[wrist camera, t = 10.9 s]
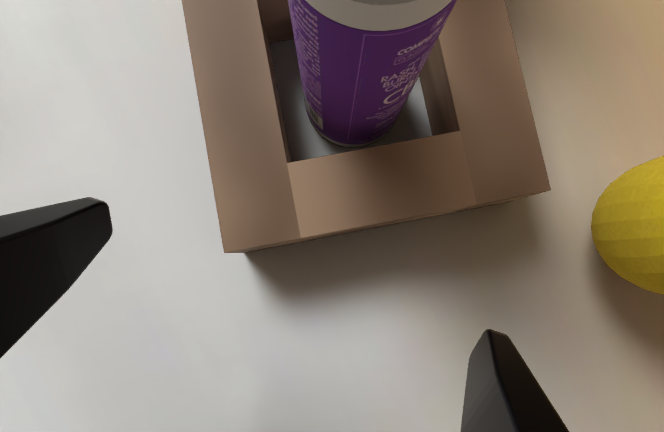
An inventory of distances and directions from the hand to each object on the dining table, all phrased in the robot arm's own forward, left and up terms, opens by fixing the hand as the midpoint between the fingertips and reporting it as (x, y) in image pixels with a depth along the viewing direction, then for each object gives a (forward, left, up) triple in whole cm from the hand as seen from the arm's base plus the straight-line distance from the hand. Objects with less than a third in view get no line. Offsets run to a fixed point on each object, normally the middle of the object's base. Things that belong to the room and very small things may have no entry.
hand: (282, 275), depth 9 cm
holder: (+4, +8, -10) cm, 13 cm away
